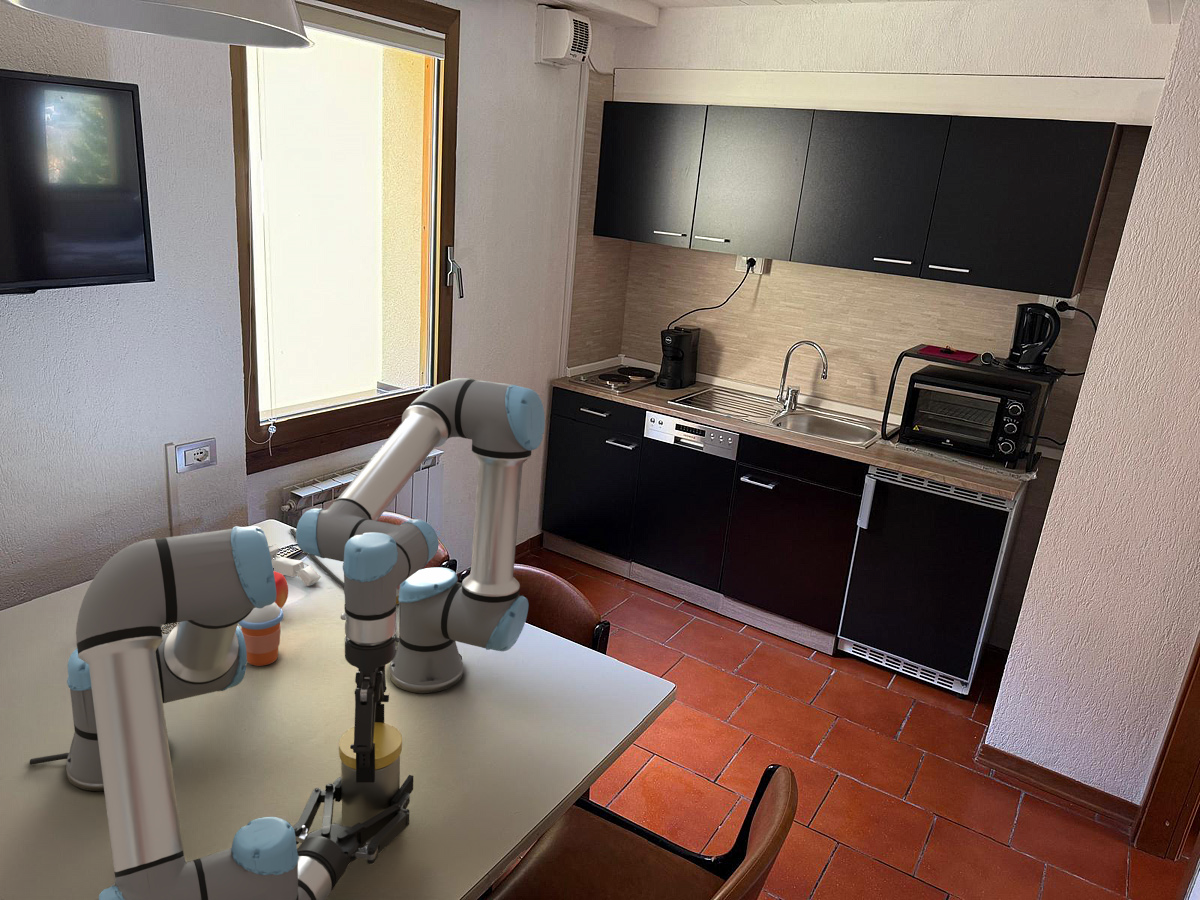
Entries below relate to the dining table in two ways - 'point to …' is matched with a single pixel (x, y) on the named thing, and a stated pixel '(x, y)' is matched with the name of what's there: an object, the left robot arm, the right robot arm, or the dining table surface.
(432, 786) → the dining table surface
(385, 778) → the jar
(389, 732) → the lid
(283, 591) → the apple
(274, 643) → the cup with straw
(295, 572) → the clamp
